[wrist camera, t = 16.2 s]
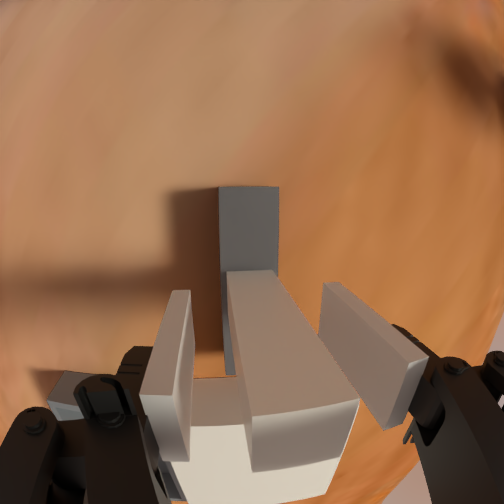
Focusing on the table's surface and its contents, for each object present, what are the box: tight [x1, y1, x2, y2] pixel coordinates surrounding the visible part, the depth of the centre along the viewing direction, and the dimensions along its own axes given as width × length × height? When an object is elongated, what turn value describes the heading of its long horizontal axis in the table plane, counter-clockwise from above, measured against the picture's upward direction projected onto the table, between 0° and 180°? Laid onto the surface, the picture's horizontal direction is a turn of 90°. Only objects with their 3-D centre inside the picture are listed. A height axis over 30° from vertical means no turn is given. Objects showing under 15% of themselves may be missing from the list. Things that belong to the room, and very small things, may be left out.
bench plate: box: [170, 377, 359, 504], centre depth 19 cm, size 14×13×5 cm
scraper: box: [218, 187, 360, 473], centre depth 12 cm, size 11×3×13 cm, turn 1°
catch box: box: [47, 371, 187, 501], centre depth 18 cm, size 14×9×4 cm, turn 1°
